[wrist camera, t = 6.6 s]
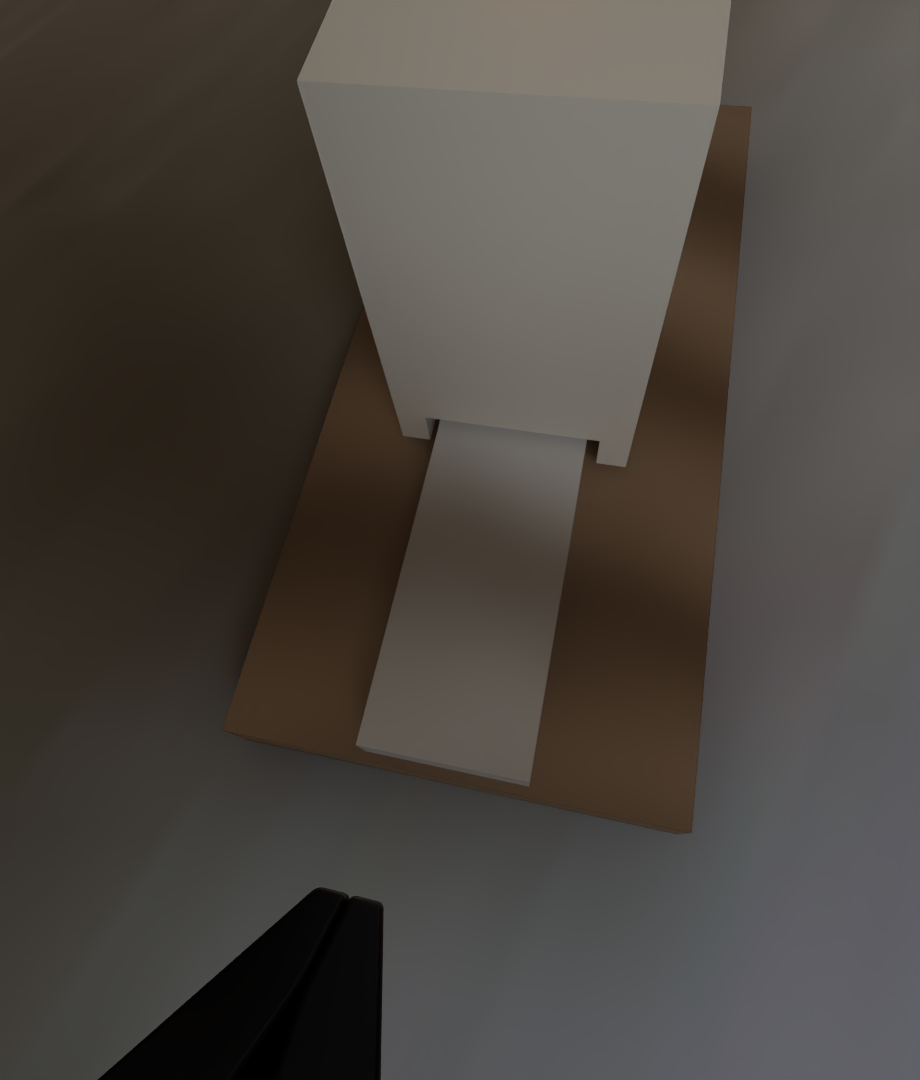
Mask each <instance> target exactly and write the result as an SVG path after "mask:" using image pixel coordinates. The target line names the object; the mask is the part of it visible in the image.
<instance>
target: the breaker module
mask: <svg viewBox="0 0 920 1080" xmlns="http://www.w3.org/2000/svg"><path fill="white" fill-rule="evenodd" d="M730 6H731V0H332V2H331V4H330V7H329V9H328V11H327V13H326V16H325V18H324V20H323V22H322V25H321V27H320V29H319V31H318V34H317V36H316V38H315V40H314V43H313V45H312V47H311V49H310V52H309V54H308V56H307V58H306V61H305V63H304V65H303V67H302V70H301V72H300V74H299V76H298V79H297V84H298V87H299V90H300V94H301V97H302V100H303V104H304V107H305V110H306V114H307V117H308V120H309V124H310V127H311V130H312V134H313V137H314V140H315V144H316V147H317V150H318V154H319V157H320V160H321V164H322V167H323V170H324V174H325V177H326V180H327V184H328V187H329V190H330V194H331V197H332V200H333V204H334V207H335V210H336V214H337V217H338V220H339V224H340V227H341V230H342V234H343V237H344V240H345V244H346V247H347V250H348V254H349V257H350V260H351V264H352V267H353V270H354V274H355V277H356V280H357V284H358V287H359V290H360V294H361V297H362V300H363V304H364V307H365V310H366V314H367V317H368V320H369V324H370V327H371V330H372V334H373V337H374V340H375V344H376V347H377V350H378V354H379V357H380V360H381V364H382V367H383V370H384V374H385V377H386V380H387V384H388V387H389V390H390V394H391V397H392V400H393V404H394V407H395V410H396V414H397V417H398V420H399V424H400V427H401V430H402V434H403V436H407V437H415V438H422V439H429V440H430V439H431V435H432V431H433V427H434V424H435V420H436V419H440V420H447V421H455V422H462V423H469V424H477V425H484V426H491V427H499V428H506V429H514V430H521V431H528V432H536V433H543V434H550V435H558V436H565V437H572V438H580V439H587V440H594V441H599V447H598V454H597V460H596V463H599V464H606V465H613V466H620V467H626V464H627V460H628V456H629V452H630V448H631V445H632V441H633V437H634V433H635V429H636V425H637V422H638V418H639V414H640V410H641V406H642V402H643V399H644V395H645V391H646V387H647V383H648V379H649V376H650V372H651V368H652V364H653V360H654V356H655V352H656V349H657V345H658V341H659V337H660V333H661V329H662V326H663V322H664V318H665V314H666V310H667V306H668V303H669V299H670V295H671V291H672V287H673V283H674V280H675V276H676V272H677V268H678V264H679V260H680V257H681V253H682V249H683V245H684V241H685V237H686V233H687V230H688V226H689V222H690V218H691V214H692V210H693V207H694V203H695V199H696V195H697V191H698V187H699V184H700V180H701V176H702V172H703V168H704V164H705V161H706V157H707V153H708V149H709V145H710V141H711V138H712V134H713V130H714V126H715V122H716V118H717V114H718V111H719V107H720V99H721V90H722V80H723V71H724V62H725V53H726V43H727V34H728V25H729V15H730Z"/></svg>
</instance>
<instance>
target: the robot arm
mask: <svg viewBox="0 0 920 1080" xmlns="http://www.w3.org/2000/svg"><path fill="white" fill-rule="evenodd" d="M383 911H384V910H383V905H382V903H381V902H379V901H375V900H371V899H367V898H363V897H359V896H353V897H351V898H350V899H349V896H348V895H347V894H345V893H343V892H339V891H335V890H331V889H327V888H321V887H320V888H316V889H314V890H313V891H312V892H310V893H309V894H308V895H307V896H306V897H305V898H303V899H302V900H301V901H300V902H299V903H298V904H297V905H296V906H294V907H293V908H292V909H291V910H290V911H289V912H288V913H286V914H285V915H284V916H283V917H282V918H281V919H280V920H279V921H277V922H276V923H275V924H274V925H273V926H272V927H271V928H269V929H268V930H267V931H266V932H265V933H264V934H263V935H261V936H260V937H259V938H258V939H257V940H256V941H255V942H254V943H252V944H251V945H250V946H249V947H248V948H247V949H246V950H244V951H243V952H242V953H241V954H240V955H239V956H238V957H236V958H235V959H234V960H233V961H232V962H231V963H230V964H229V965H227V966H226V967H225V968H224V969H223V970H222V971H221V972H219V973H218V974H217V975H216V976H215V977H214V978H213V979H212V980H210V981H209V982H208V983H207V984H206V985H205V986H204V987H202V988H201V989H200V990H199V991H198V992H197V993H196V994H194V995H193V996H192V997H191V998H190V999H189V1000H188V1001H187V1002H185V1003H184V1004H183V1005H182V1006H181V1007H180V1008H179V1009H177V1010H176V1011H175V1012H174V1013H173V1014H172V1015H171V1016H169V1017H168V1018H167V1019H166V1020H165V1021H164V1022H163V1023H162V1024H160V1025H159V1026H158V1027H157V1028H156V1029H155V1030H154V1031H152V1032H151V1033H150V1034H149V1035H148V1036H147V1037H146V1038H145V1039H143V1040H142V1041H141V1042H140V1043H139V1044H138V1045H137V1046H135V1047H134V1048H133V1049H132V1050H131V1051H130V1052H129V1053H127V1054H126V1055H125V1056H124V1057H123V1058H122V1059H121V1060H120V1061H118V1062H117V1063H116V1064H115V1065H114V1066H113V1067H112V1068H110V1069H109V1070H108V1071H107V1072H106V1073H105V1074H104V1075H102V1076H101V1077H100V1078H99V1079H98V1080H381V1029H382V971H383Z"/></svg>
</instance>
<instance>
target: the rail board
mask: <svg viewBox="0 0 920 1080" xmlns="http://www.w3.org/2000/svg"><path fill="white" fill-rule="evenodd" d="M751 109H752V107H745V106H728V105H720V107H719V111H718V114H717V118H716V122H715V126H714V130H713V134H712V138H711V141H710V145H709V149H708V153H707V157H706V161H705V164H704V168H703V172H702V176H701V180H700V184H699V187H698V191H697V195H696V199H695V203H694V207H693V210H692V214H691V218H690V222H689V226H688V230H687V233H686V237H685V241H684V245H683V249H682V253H681V257H680V260H679V264H678V268H677V272H676V276H675V280H674V283H673V287H672V291H671V295H670V299H669V303H668V306H667V310H666V314H665V318H664V322H663V326H662V329H661V333H660V337H659V341H658V345H657V349H656V352H655V356H654V360H653V364H652V368H651V372H650V376H649V379H648V383H647V387H646V391H645V395H644V399H643V402H642V406H641V410H640V414H639V418H638V422H637V425H636V429H635V433H634V437H633V441H632V445H631V448H630V452H629V456H628V460H627V464H626V467H620V466H613V465H606V464H599V463H596V460H597V454H598V447H599V441H594V440H587V439H580V438H572V437H565V436H558V435H550V434H543V433H536V432H528V431H521V430H514V429H506V428H499V427H491V426H484V425H477V424H469V423H462V422H455V421H447V420H440V419H436V420H435V424H434V427H433V431H432V435H431V439H430V440H429V439H422V438H415V437H407V436H403V434H402V430H401V427H400V424H399V420H398V417H397V414H396V410H395V407H394V404H393V400H392V397H391V394H390V390H389V387H388V384H387V380H386V377H385V374H384V370H383V367H382V364H381V360H380V357H379V354H378V350H377V347H376V344H375V340H374V337H373V334H372V330H371V327H370V324H369V320H368V317H367V314H366V310H365V307H364V304H363V307H362V310H361V313H360V316H359V319H358V322H357V325H356V328H355V331H354V334H353V337H352V340H351V343H350V346H349V349H348V352H347V355H346V358H345V361H344V364H343V367H342V370H341V373H340V376H339V379H338V382H337V385H336V388H335V391H334V394H333V397H332V400H331V403H330V406H329V409H328V412H327V415H326V418H325V421H324V424H323V427H322V430H321V433H320V437H319V440H318V443H317V446H316V449H315V452H314V455H313V458H312V461H311V464H310V467H309V470H308V473H307V476H306V479H305V482H304V485H303V488H302V491H301V494H300V497H299V500H298V503H297V506H296V509H295V512H294V515H293V518H292V521H291V524H290V527H289V530H288V533H287V536H286V539H285V542H284V545H283V548H282V551H281V554H280V557H279V560H278V563H277V566H276V569H275V572H274V575H273V578H272V581H271V584H270V587H269V590H268V593H267V596H266V599H265V602H264V605H263V608H262V611H261V614H260V617H259V620H258V623H257V626H256V629H255V632H254V635H253V638H252V641H251V644H250V647H249V650H248V653H247V656H246V659H245V662H244V665H243V668H242V671H241V674H240V677H239V680H238V683H237V686H236V689H235V692H234V695H233V698H232V701H231V704H230V707H229V710H228V713H227V716H226V719H225V722H224V725H223V728H222V730H224V731H227V732H229V733H232V734H234V735H237V736H240V737H242V738H245V739H248V740H252V741H257V742H261V743H266V744H270V745H275V746H279V747H284V748H288V749H293V750H298V751H302V752H307V753H311V754H316V755H320V756H325V757H329V758H334V759H338V760H343V761H347V762H352V763H357V764H361V765H366V766H370V767H375V768H379V769H384V770H388V771H393V772H397V773H402V774H406V775H411V776H415V777H420V778H425V779H429V780H434V781H438V782H443V783H447V784H452V785H456V786H461V787H465V788H470V789H474V790H479V791H484V792H488V793H493V794H497V795H502V796H506V797H511V798H515V799H520V800H524V801H529V802H533V803H538V804H542V805H547V806H552V807H556V808H561V809H565V810H570V811H574V812H579V813H583V814H588V815H592V816H597V817H601V818H606V819H611V820H615V821H620V822H624V823H629V824H633V825H638V826H642V827H647V828H651V829H656V830H660V831H665V832H670V833H674V834H684V833H692V821H693V809H694V797H695V785H696V773H697V761H698V749H699V737H700V725H701V713H702V701H703V689H704V677H705V664H706V652H707V640H708V628H709V616H710V604H711V592H712V580H713V568H714V556H715V544H716V532H717V520H718V508H719V496H720V483H721V471H722V459H723V447H724V435H725V423H726V411H727V399H728V387H729V375H730V363H731V351H732V339H733V327H734V314H735V302H736V290H737V278H738V266H739V254H740V242H741V230H742V218H743V206H744V194H745V182H746V170H747V158H748V146H749V133H750V121H751Z"/></svg>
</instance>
